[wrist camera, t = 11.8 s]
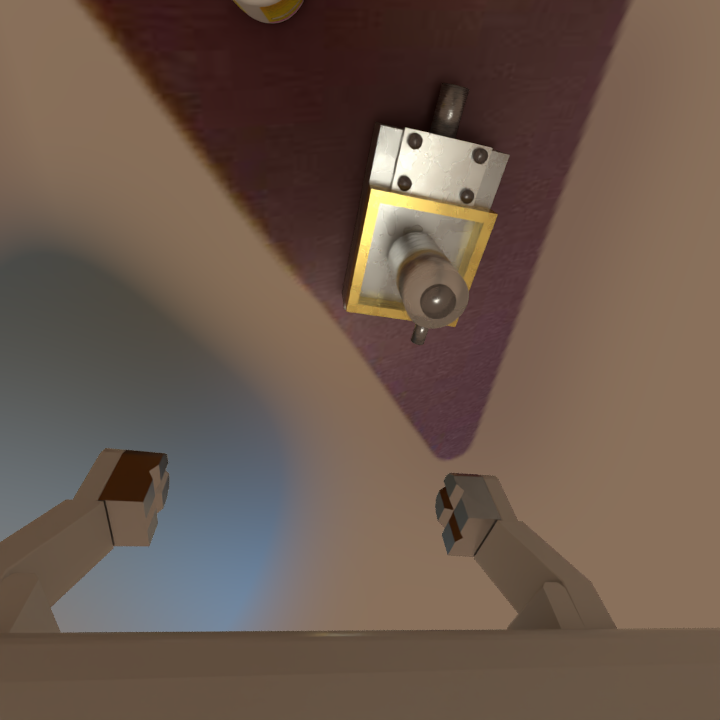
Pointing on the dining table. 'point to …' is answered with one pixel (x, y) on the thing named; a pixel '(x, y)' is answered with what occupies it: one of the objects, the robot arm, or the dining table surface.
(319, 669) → the robot arm
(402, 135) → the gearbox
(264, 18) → the supplement bottle
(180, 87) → the dining table surface
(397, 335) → the dining table surface
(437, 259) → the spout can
